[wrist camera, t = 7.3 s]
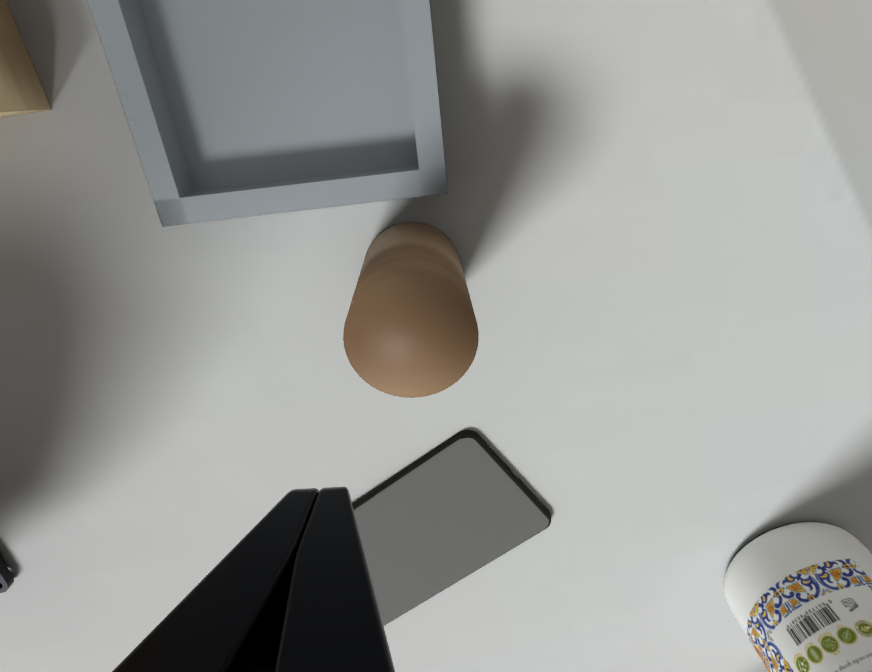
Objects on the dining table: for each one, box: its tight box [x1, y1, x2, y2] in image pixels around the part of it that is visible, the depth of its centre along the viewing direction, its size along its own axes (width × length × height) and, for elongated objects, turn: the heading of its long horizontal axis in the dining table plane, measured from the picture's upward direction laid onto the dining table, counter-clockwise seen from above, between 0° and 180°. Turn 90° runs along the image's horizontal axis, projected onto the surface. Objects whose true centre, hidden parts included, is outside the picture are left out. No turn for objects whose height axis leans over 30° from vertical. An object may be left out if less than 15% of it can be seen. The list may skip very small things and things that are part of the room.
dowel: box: [343, 222, 478, 398], centre depth 17 cm, size 4×4×6 cm
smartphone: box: [352, 430, 551, 626], centre depth 25 cm, size 7×1×15 cm
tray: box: [87, 0, 448, 227], centre depth 15 cm, size 10×9×2 cm
